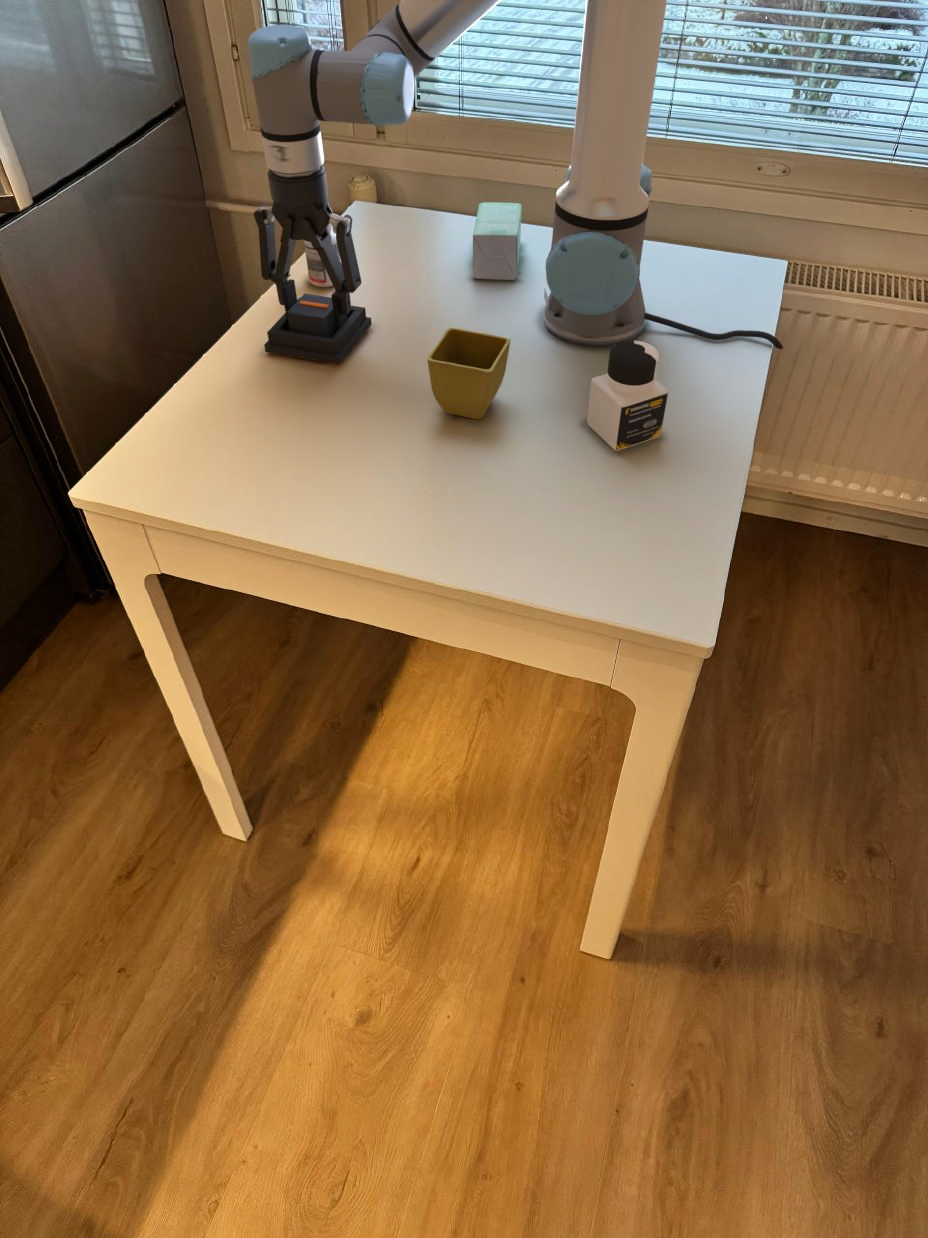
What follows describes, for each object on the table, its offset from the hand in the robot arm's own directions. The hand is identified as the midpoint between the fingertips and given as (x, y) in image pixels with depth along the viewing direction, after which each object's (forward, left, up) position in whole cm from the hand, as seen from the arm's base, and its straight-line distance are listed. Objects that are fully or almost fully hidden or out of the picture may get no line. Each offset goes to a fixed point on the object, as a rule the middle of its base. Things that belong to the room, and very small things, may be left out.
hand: (318, 328), depth 135 cm
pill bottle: (+7, -18, -2) cm, 20 cm away
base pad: (0, 0, -1) cm, 1 cm away
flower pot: (-27, +10, -2) cm, 29 cm away
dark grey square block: (0, 0, 0) cm, 0 cm away
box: (-18, -33, -2) cm, 38 cm away
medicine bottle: (-48, +9, -2) cm, 49 cm away
